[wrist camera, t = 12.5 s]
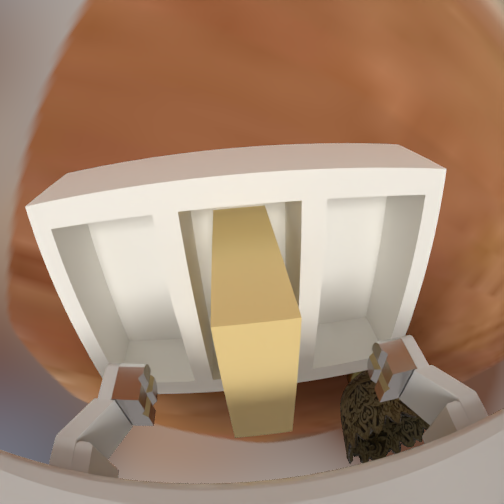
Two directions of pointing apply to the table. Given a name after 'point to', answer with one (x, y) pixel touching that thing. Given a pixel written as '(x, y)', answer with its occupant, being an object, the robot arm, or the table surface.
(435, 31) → the table surface
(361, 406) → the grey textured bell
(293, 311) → the panel
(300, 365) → the rack
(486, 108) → the table surface
